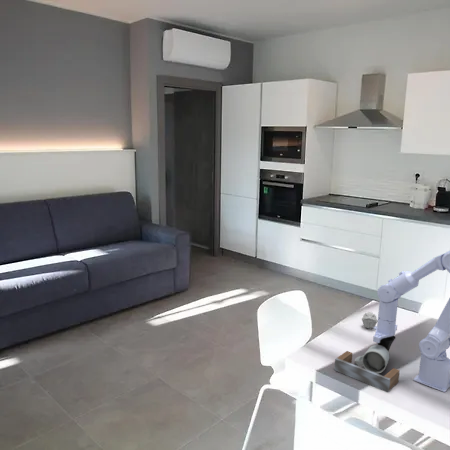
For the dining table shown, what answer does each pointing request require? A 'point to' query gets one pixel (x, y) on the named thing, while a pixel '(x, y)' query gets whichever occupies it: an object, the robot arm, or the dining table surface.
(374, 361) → the ceramic mug
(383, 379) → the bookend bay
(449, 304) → the robot arm
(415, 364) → the dining table surface
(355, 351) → the dining table surface
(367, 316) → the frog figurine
